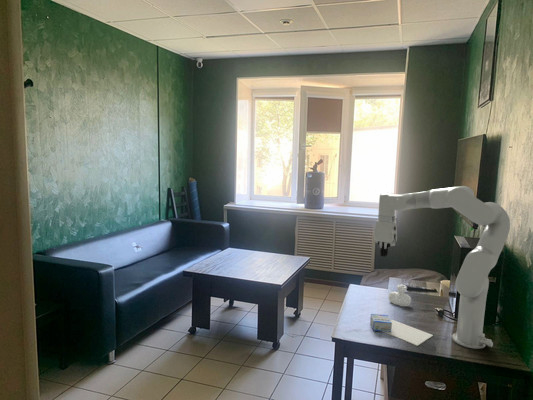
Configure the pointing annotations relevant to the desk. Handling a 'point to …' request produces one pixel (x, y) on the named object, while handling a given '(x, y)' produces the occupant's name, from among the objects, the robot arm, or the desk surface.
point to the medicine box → (381, 323)
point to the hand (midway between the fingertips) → (383, 255)
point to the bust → (400, 296)
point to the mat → (408, 333)
